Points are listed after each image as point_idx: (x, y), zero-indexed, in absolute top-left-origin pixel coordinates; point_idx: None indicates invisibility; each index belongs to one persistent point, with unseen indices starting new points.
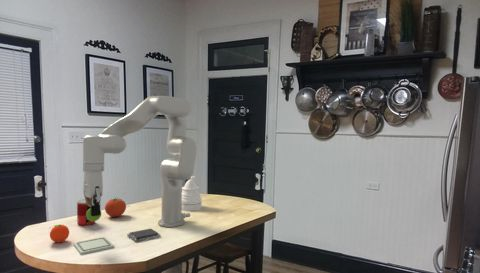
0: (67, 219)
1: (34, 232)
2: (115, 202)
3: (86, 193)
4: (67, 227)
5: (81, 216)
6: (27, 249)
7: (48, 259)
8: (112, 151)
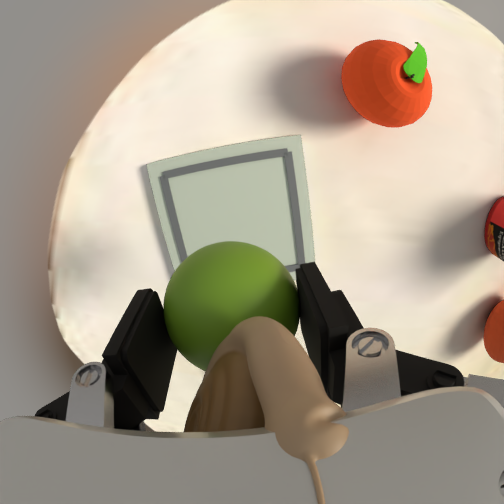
0: None
1: (487, 55)
2: None
3: (101, 498)
4: (406, 118)
5: None
6: None
7: (156, 46)
8: None
